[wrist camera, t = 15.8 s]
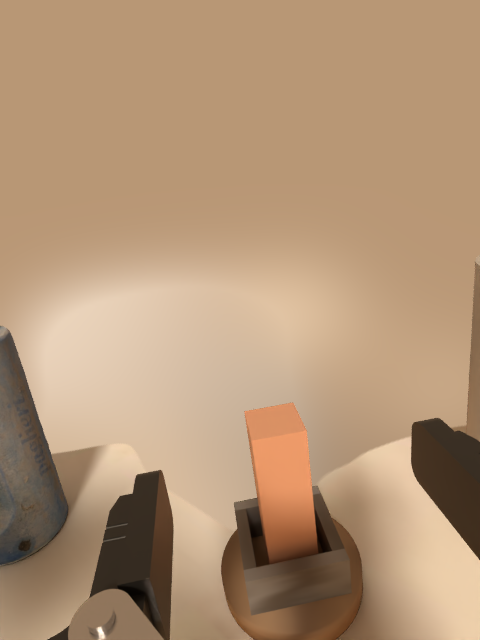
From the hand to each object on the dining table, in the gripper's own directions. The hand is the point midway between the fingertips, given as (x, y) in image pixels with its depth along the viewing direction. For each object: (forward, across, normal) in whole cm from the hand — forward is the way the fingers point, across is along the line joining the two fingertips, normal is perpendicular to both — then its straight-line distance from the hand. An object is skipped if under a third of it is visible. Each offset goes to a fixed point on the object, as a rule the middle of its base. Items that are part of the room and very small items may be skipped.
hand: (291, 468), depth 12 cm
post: (+15, -2, +23) cm, 28 cm away
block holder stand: (+15, -2, +25) cm, 29 cm away
